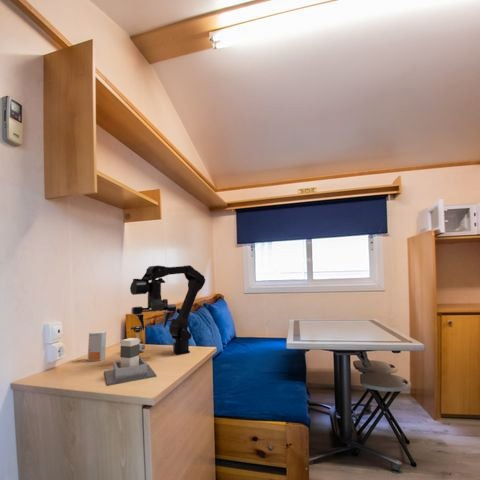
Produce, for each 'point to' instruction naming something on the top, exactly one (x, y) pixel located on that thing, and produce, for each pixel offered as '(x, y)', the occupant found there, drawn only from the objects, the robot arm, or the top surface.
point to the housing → (128, 373)
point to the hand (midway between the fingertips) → (154, 329)
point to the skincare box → (96, 346)
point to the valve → (137, 328)
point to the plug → (129, 352)
